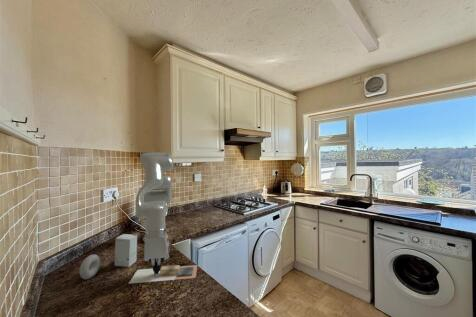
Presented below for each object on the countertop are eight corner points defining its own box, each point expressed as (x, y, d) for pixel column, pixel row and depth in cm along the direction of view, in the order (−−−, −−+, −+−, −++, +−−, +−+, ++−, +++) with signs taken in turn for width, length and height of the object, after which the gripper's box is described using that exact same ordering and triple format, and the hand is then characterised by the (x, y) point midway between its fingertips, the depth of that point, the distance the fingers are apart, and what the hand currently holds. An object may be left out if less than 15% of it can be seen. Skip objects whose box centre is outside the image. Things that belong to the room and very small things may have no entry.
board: (137, 272, 92) (137, 269, 92) (197, 267, 95) (197, 265, 95) (128, 286, 82) (128, 283, 82) (195, 280, 85) (195, 277, 85)
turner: (159, 278, 85) (159, 271, 85) (162, 270, 91) (162, 264, 91) (192, 275, 87) (192, 269, 87) (193, 268, 92) (193, 262, 92)
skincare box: (114, 268, 95) (113, 238, 95) (123, 261, 101) (122, 233, 101) (129, 269, 94) (129, 239, 94) (137, 262, 100) (137, 234, 100)
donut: (95, 270, 93) (94, 250, 93) (102, 270, 93) (101, 250, 93) (77, 284, 83) (77, 261, 83) (85, 284, 83) (84, 261, 83)
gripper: (175, 228, 92) (175, 266, 92) (142, 230, 90) (142, 269, 90) (171, 234, 85) (172, 276, 85) (135, 236, 83) (136, 279, 83)
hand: (157, 272), depth 88 cm, fingers closed
